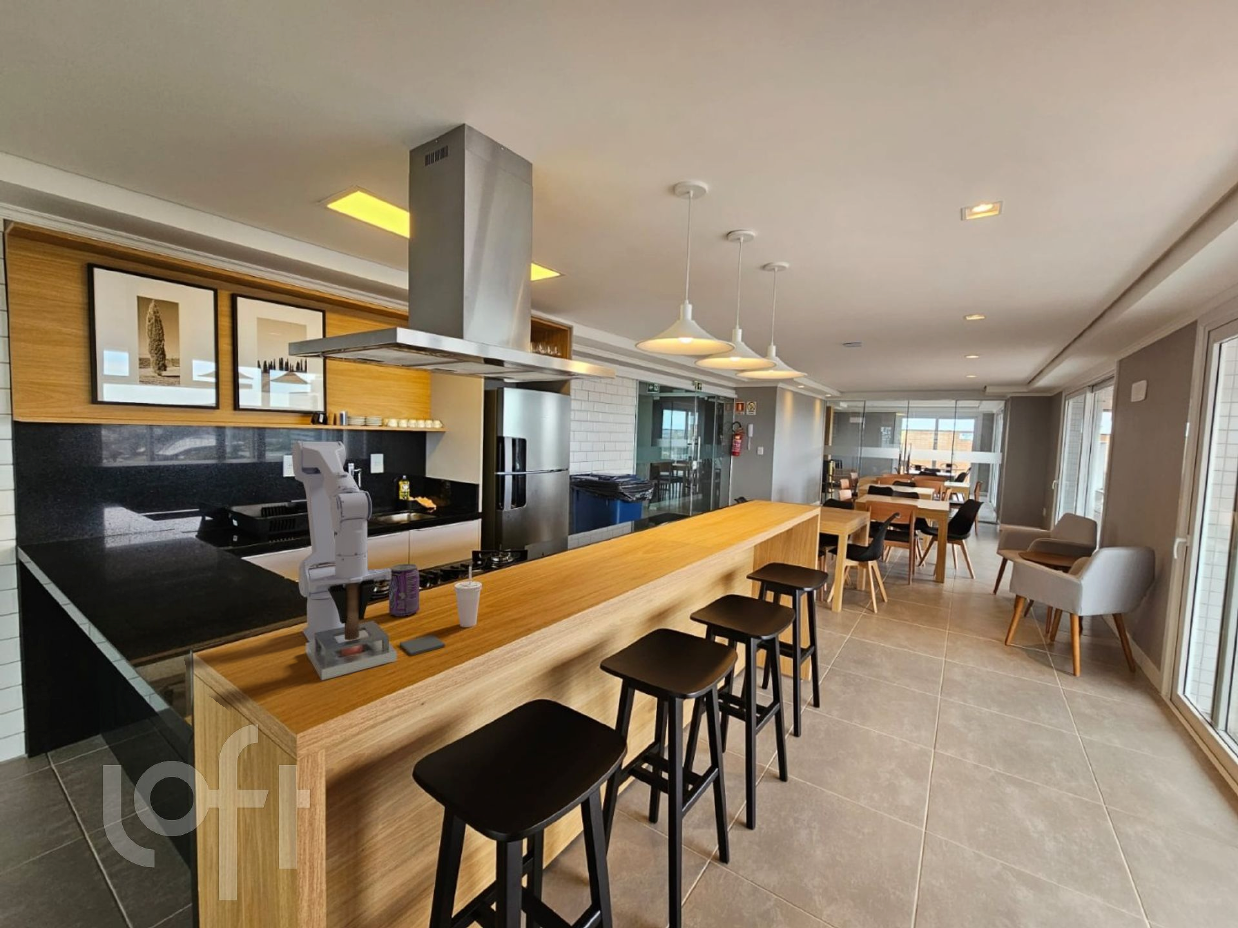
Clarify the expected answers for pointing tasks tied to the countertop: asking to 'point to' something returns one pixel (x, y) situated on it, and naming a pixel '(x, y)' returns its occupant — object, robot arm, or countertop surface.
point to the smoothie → (468, 601)
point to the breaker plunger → (351, 651)
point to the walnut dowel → (352, 611)
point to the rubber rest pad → (422, 644)
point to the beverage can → (404, 590)
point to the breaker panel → (349, 660)
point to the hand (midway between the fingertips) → (351, 620)
